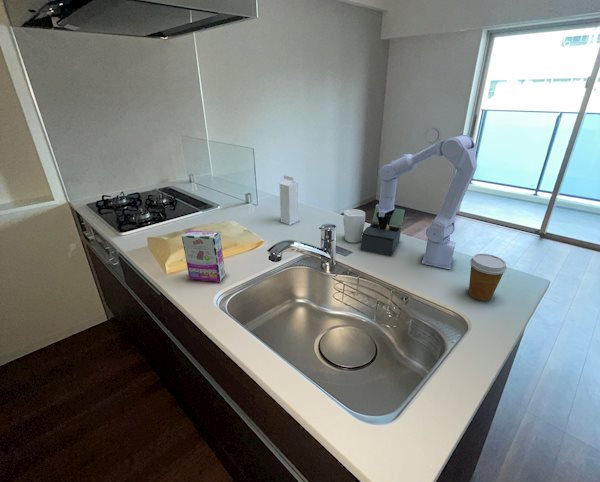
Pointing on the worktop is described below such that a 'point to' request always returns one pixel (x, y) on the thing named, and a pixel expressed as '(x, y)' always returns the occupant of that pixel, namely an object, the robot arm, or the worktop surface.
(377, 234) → the bin
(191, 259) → the candy bar box
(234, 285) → the worktop surface
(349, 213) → the cup
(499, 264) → the disposable coffee cup
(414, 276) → the worktop surface
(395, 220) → the bin flap
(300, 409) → the worktop surface
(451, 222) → the robot arm
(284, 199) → the milk
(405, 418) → the worktop surface
